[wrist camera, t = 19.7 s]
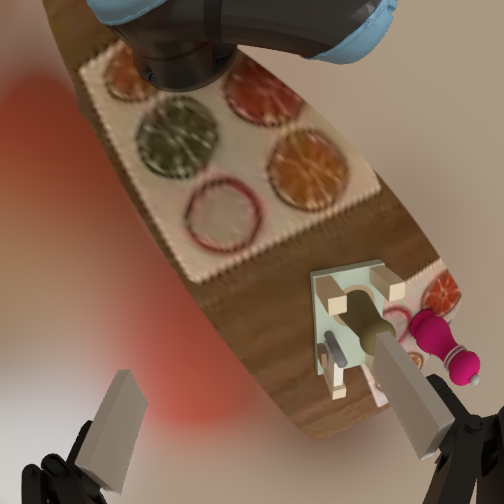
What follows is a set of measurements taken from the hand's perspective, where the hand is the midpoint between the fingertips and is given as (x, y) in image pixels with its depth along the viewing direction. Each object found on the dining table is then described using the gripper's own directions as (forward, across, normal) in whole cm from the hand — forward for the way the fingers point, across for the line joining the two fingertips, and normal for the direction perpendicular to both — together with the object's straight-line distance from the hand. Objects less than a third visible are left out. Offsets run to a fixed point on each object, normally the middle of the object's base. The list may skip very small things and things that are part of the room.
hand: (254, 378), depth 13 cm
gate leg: (+27, +11, -23) cm, 37 cm away
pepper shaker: (+27, +16, -14) cm, 34 cm away
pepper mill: (+29, +32, -23) cm, 49 cm away
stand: (+29, +15, -17) cm, 37 cm away
